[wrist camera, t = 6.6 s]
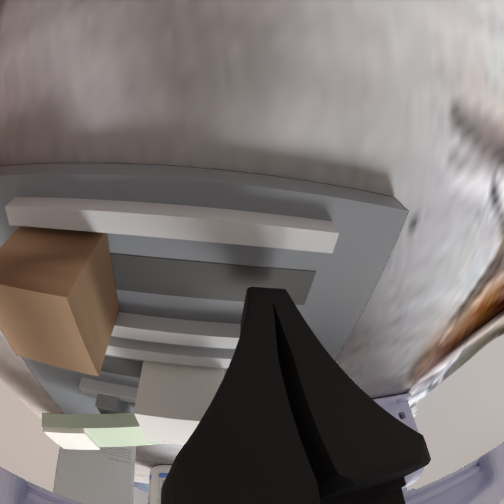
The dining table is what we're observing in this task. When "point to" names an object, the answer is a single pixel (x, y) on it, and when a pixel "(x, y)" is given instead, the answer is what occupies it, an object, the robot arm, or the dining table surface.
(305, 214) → the control board
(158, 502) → the supplement tub
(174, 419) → the white cube
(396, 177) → the dining table surface
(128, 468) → the skincare box
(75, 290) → the brown cube
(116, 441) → the sage rocker
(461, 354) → the dining table surface
